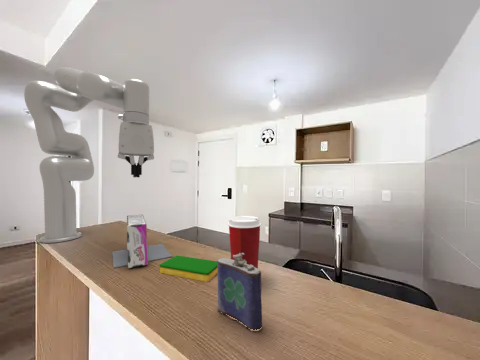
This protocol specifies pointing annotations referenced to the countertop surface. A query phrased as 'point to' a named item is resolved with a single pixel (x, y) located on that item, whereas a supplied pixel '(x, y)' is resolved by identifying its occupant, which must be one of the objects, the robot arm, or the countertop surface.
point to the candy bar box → (137, 241)
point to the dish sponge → (190, 268)
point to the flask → (240, 291)
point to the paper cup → (245, 238)
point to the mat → (153, 254)
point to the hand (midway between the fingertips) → (136, 177)
